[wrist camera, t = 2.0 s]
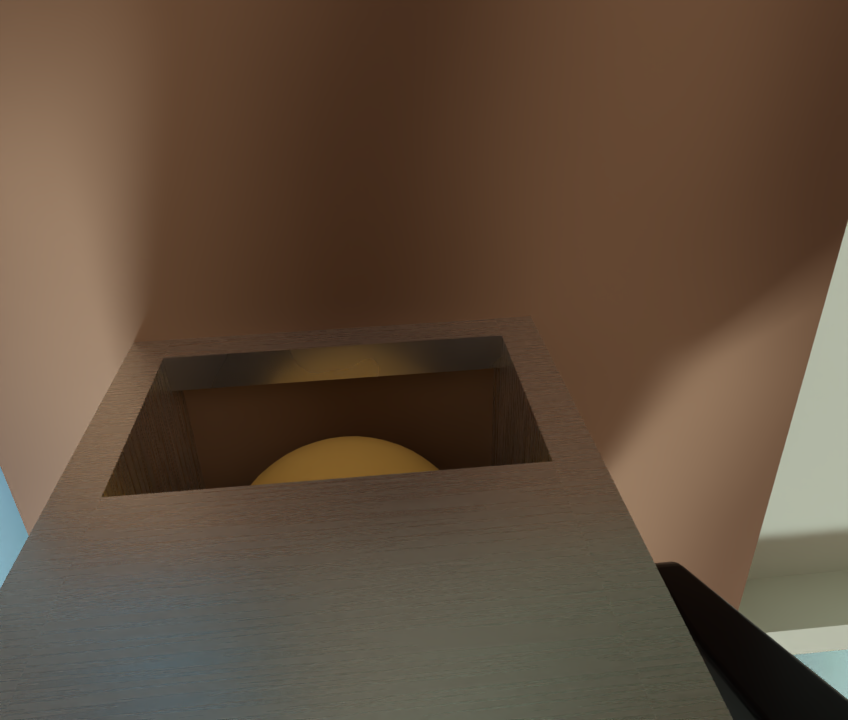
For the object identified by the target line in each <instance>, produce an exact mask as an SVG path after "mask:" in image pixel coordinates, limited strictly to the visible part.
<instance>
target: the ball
mask: <svg viewBox="0 0 848 720" xmlns="http://www.w3.org/2000/svg"><path fill="white" fill-rule="evenodd" d="M437 470H439V469H438V468H436V467H435V466H434V465H433V464H432V463H430V462H429V461H428V460H426V459H425V458H423V457H422V456H420V455H419V454H417V453H415V452H414V451H412V450H410V449H408V448H405V447H403V446H401V445H398V444H395V443H392V442H389V441H385V440H381V439H376V438H371V437H361V436H343V437H336V438H329V439H325V440H321V441H317V442H314V443H311V444H308V445H305V446H303V447H300V448H298V449H296V450H294V451H292V452H290V453H288V454H286V455H285V456H283V457H282V458H280V459H279V460H277V461H276V462H274V463H273V464H272V465H271V466H269V467H268V468H267V469H266V470H265V471H263V472H262V473H261V474H260V475H259V476H258V477H257V478H256V479H255V481H254V482H253V483H252V484H251V485H262V484H275V483H287V482H300V481H312V480H325V479H337V478H350V477H362V476H375V475H387V474H400V473H412V472H425V471H437Z"/></svg>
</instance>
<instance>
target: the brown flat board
mask: <svg viewBox="0 0 848 720" xmlns="http://www.w3.org/2000/svg"><path fill="white" fill-rule="evenodd" d="M847 222H848V0H0V466H1V469H2V471H3V474H4V476H5V479H6V481H7V484H8V486H9V488H10V491H11V493H12V496H13V498H14V501H15V503H16V506H17V508H18V511H19V513H20V515H21V518H22V520H23V523H24V525H25V528H26V530H27V533H28V535H30V533H31V531H32V529H33V527H34V526H35V524H36V522H37V520H38V518H39V516H40V514H41V513H42V511H43V509H44V507H45V505H46V503H47V501H48V500H49V498H50V496H51V494H52V492H53V490H54V488H55V487H56V485H57V483H58V481H59V479H60V477H61V476H62V474H63V472H64V470H65V468H66V466H67V464H68V463H69V461H70V459H71V457H72V455H73V453H74V451H75V450H76V448H77V446H78V444H79V442H80V440H81V439H82V437H83V435H84V433H85V431H86V429H87V427H88V426H89V424H90V422H91V420H92V418H93V416H94V414H95V413H96V411H97V409H98V407H99V405H100V403H101V402H102V400H103V398H104V396H105V394H106V392H107V390H108V389H109V387H110V385H111V383H112V381H113V379H114V377H115V376H116V374H117V372H118V370H119V368H120V366H121V364H122V363H123V361H124V359H125V357H126V355H127V353H128V352H129V350H130V348H131V346H132V344H133V342H145V341H161V340H176V339H191V338H206V337H221V336H237V335H252V334H267V333H282V332H298V331H313V330H328V329H343V328H358V327H374V326H389V325H404V324H419V323H434V322H450V321H465V320H480V319H495V318H510V317H526V316H531V318H532V320H533V322H534V324H535V326H536V328H537V330H538V332H539V334H540V336H541V338H542V340H543V342H544V344H545V346H546V348H547V350H548V352H549V354H550V356H551V358H552V360H553V362H554V364H555V366H556V368H557V370H558V372H559V374H560V376H561V378H562V380H563V382H564V384H565V386H566V387H567V389H568V391H569V393H570V395H571V397H572V399H573V401H574V403H575V405H576V407H577V409H578V411H579V413H580V415H581V417H582V419H583V421H584V423H585V425H586V427H587V429H588V431H589V433H590V435H591V437H592V439H593V441H594V443H595V445H596V447H597V449H598V451H599V453H600V455H601V457H602V459H603V461H604V463H605V465H606V467H607V469H608V471H609V473H610V475H611V477H612V479H613V481H614V483H615V485H616V487H617V489H618V491H619V493H620V495H621V497H622V499H623V501H624V503H625V505H626V507H627V509H628V511H629V513H630V515H631V517H632V519H633V521H634V523H635V525H636V527H637V529H638V531H639V533H640V535H641V537H642V539H643V541H644V543H645V545H646V547H647V549H648V551H649V553H650V555H651V557H652V559H653V561H654V563H659V562H671V561H672V562H677V563H679V564H681V565H682V566H684V567H685V568H686V569H687V570H688V571H690V572H691V573H692V574H693V575H695V576H696V577H697V578H698V579H700V580H701V581H702V582H703V583H704V584H706V585H707V586H708V587H709V588H711V589H712V590H713V591H714V592H716V593H717V594H718V595H719V596H721V597H722V598H723V599H724V600H725V601H727V602H728V603H729V604H730V605H732V606H733V607H734V608H735V609H737V610H739V606H740V602H741V599H742V595H743V592H744V588H745V585H746V581H747V578H748V574H749V570H750V567H751V563H752V560H753V556H754V553H755V549H756V546H757V542H758V538H759V535H760V531H761V528H762V524H763V521H764V517H765V514H766V510H767V506H768V503H769V499H770V496H771V492H772V489H773V485H774V482H775V478H776V474H777V471H778V467H779V464H780V460H781V457H782V453H783V450H784V446H785V442H786V439H787V435H788V432H789V428H790V425H791V421H792V418H793V414H794V411H795V407H796V403H797V400H798V396H799V393H800V389H801V386H802V382H803V379H804V375H805V371H806V368H807V364H808V361H809V357H810V354H811V350H812V347H813V343H814V339H815V336H816V332H817V329H818V325H819V322H820V318H821V315H822V311H823V307H824V304H825V300H826V297H827V293H828V290H829V286H830V283H831V279H832V275H833V272H834V268H835V265H836V261H837V258H838V254H839V251H840V247H841V243H842V240H843V236H844V233H845V229H846V226H847ZM493 380H494V368H490V369H476V370H462V371H448V372H434V373H420V374H405V375H391V376H377V377H363V378H349V379H335V380H320V381H306V382H292V383H278V384H264V385H250V386H235V387H221V388H207V389H193V390H183V392H184V396H185V400H186V405H187V409H188V414H189V418H190V422H191V427H192V431H193V435H194V440H195V444H196V448H197V453H198V457H199V461H200V466H201V470H202V474H203V479H204V483H205V488H206V489H212V488H225V487H237V486H250V485H251V484H252V483H253V482H254V481H255V479H256V478H257V477H258V476H259V475H260V474H261V473H262V472H263V471H265V470H266V469H267V468H268V467H269V466H271V465H272V464H273V463H274V462H276V461H277V460H279V459H280V458H282V457H283V456H285V455H286V454H288V453H290V452H292V451H294V450H296V449H298V448H300V447H303V446H305V445H308V444H311V443H314V442H317V441H321V440H325V439H329V438H336V437H343V436H361V437H371V438H376V439H381V440H385V441H389V442H392V443H395V444H398V445H401V446H403V447H405V448H408V449H410V450H412V451H414V452H415V453H417V454H419V455H420V456H422V457H423V458H425V459H426V460H428V461H429V462H430V463H432V464H433V465H434V466H435V467H436V468H438V469H439V470H450V469H462V468H475V467H487V466H491V454H492V417H493Z"/></svg>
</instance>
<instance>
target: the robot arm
mask: <svg viewBox="0 0 848 720" xmlns="http://www.w3.org/2000/svg"><path fill="white" fill-rule="evenodd" d="M655 565H656V567H657V569H658V571H659V573H660V575H661V577H662V579H663V581H664V583H665V585H666V587H667V589H668V591H669V593H670V595H671V597H672V599H673V601H674V603H675V605H676V607H677V609H678V611H679V613H680V615H681V617H682V619H683V621H684V623H685V625H686V627H687V629H688V631H689V633H690V635H691V637H692V639H693V641H694V643H695V645H696V647H697V649H698V651H699V653H700V655H701V657H702V659H703V661H704V663H705V665H706V667H707V669H708V671H709V672H710V674H711V676H712V678H713V680H714V682H715V684H716V686H717V688H718V690H719V692H720V694H721V696H722V698H723V700H724V702H725V704H726V706H727V708H728V710H729V712H730V714H731V716H732V718H733V720H848V699H846V698H845V697H844V696H843V695H842V694H840V693H839V692H838V691H837V690H835V689H834V688H833V687H832V686H830V685H829V684H828V683H827V682H825V681H824V680H823V679H822V678H821V677H819V676H818V675H817V674H816V673H814V672H813V671H812V670H811V669H809V668H808V667H807V666H806V665H804V664H803V663H802V662H801V661H800V660H798V659H797V658H796V657H795V656H793V655H792V654H791V653H790V652H788V651H787V650H786V649H785V648H784V647H782V646H781V645H780V644H779V643H777V642H776V641H775V640H774V639H772V638H771V637H770V636H769V635H767V634H766V633H765V632H764V631H763V630H761V629H760V628H759V627H758V626H756V625H755V624H754V623H753V622H751V621H750V620H749V619H748V618H746V617H745V616H744V615H743V614H742V613H740V612H739V611H738V610H737V609H735V608H734V607H733V606H732V605H730V604H729V603H728V602H727V601H725V600H724V599H723V598H722V597H721V596H719V595H718V594H717V593H716V592H714V591H713V590H712V589H711V588H709V587H708V586H707V585H706V584H704V583H703V582H702V581H701V580H700V579H698V578H697V577H696V576H695V575H693V574H692V573H691V572H690V571H688V570H687V569H686V568H685V567H684V566H682V565H681V564H679V563H677V562H672V561H671V562H659V563H655Z"/></svg>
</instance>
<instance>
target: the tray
mask: <svg viewBox="0 0 848 720" xmlns="http://www.w3.org/2000/svg"><path fill="white" fill-rule="evenodd" d="M738 611H739V612H740V613H742V614H743V615H744V616H745V617H746V618H748V619H749V620H750V621H751V622H753V623H754V624H755V625H756V626H758V627H759V628H760V629H761V630H763V631H764V632H765V633H766V634H767V635H769V636H770V637H771V638H772V639H774V640H775V641H776V642H777V643H779V644H780V645H781V646H782V647H784V648H785V649H786V650H787V651H788V652H790V653H791V654H792V655H796V654H806V653H815V652H825V651H835V650H845V649H848V222H847V226H846V229H845V233H844V236H843V240H842V243H841V247H840V251H839V254H838V258H837V261H836V265H835V268H834V272H833V275H832V279H831V283H830V286H829V290H828V293H827V297H826V300H825V304H824V307H823V311H822V315H821V318H820V322H819V325H818V329H817V332H816V336H815V339H814V343H813V347H812V350H811V354H810V357H809V361H808V364H807V368H806V371H805V375H804V379H803V382H802V386H801V389H800V393H799V396H798V400H797V403H796V407H795V411H794V414H793V418H792V421H791V425H790V428H789V432H788V435H787V439H786V442H785V446H784V450H783V453H782V457H781V460H780V464H779V467H778V471H777V474H776V478H775V482H774V485H773V489H772V492H771V496H770V499H769V503H768V506H767V510H766V514H765V517H764V521H763V524H762V528H761V531H760V535H759V538H758V542H757V546H756V549H755V553H754V556H753V560H752V563H751V567H750V570H749V574H748V578H747V581H746V585H745V588H744V592H743V595H742V599H741V602H740V606H739V610H738Z"/></svg>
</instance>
